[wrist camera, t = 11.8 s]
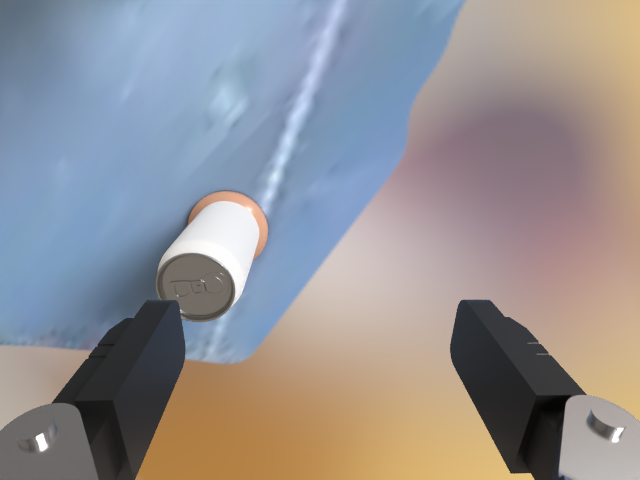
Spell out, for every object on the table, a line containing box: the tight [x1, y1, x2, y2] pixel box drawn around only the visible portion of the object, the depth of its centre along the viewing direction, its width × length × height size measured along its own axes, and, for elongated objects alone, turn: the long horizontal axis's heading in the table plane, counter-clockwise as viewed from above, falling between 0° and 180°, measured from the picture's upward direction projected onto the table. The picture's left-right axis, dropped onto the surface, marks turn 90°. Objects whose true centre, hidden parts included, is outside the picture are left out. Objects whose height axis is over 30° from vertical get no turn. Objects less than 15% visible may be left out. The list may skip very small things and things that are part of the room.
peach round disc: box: [188, 190, 268, 259], centre depth 38 cm, size 8×8×1 cm
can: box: [155, 201, 259, 322], centre depth 32 cm, size 6×6×12 cm
